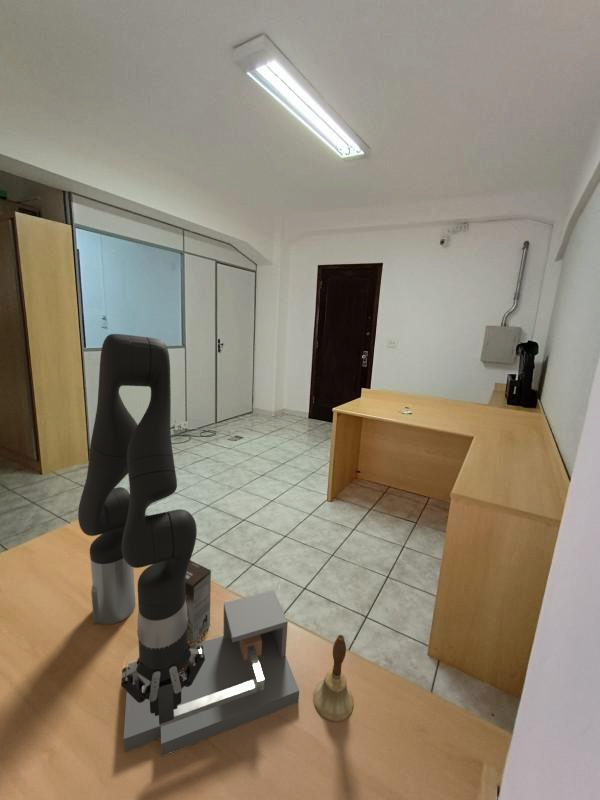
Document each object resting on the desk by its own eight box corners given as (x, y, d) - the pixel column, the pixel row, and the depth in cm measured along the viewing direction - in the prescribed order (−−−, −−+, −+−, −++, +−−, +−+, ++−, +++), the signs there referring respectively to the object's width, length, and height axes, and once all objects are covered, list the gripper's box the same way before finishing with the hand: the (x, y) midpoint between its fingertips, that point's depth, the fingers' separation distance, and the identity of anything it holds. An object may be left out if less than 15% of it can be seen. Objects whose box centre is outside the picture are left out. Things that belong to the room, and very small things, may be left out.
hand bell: (357, 689, 75) (365, 627, 71) (347, 730, 67) (355, 663, 63) (320, 673, 77) (326, 613, 74) (307, 710, 70) (312, 645, 66)
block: (243, 660, 76) (244, 645, 75) (239, 644, 80) (239, 630, 79) (261, 654, 78) (262, 640, 77) (256, 639, 81) (257, 625, 80)
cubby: (123, 772, 59) (119, 716, 56) (129, 675, 75) (126, 627, 72) (298, 702, 71) (302, 653, 69) (271, 631, 87) (273, 590, 84)
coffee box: (165, 627, 86) (163, 571, 83) (184, 609, 92) (183, 555, 88) (192, 644, 82) (192, 586, 79) (211, 624, 88) (211, 569, 84)
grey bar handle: (159, 729, 60) (157, 687, 58) (158, 684, 68) (156, 645, 65) (264, 691, 67) (266, 652, 65) (253, 653, 75) (254, 618, 73)
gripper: (203, 598, 63) (203, 674, 67) (117, 619, 58) (123, 700, 62) (210, 632, 56) (209, 714, 60) (113, 659, 51) (119, 748, 55)
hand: (165, 707), depth 61 cm, fingers closed on grey bar handle, 2 cm apart
